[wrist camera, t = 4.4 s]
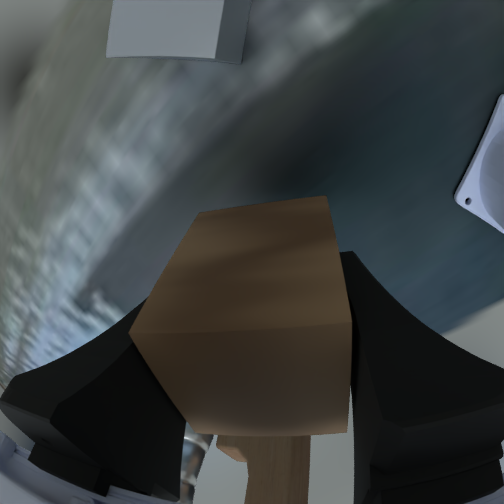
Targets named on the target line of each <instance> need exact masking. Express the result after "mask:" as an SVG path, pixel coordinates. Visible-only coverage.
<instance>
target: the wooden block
mask: <svg viewBox="0 0 504 504" xmlns="http://www.w3.org/2000/svg"><path fill="white" fill-rule="evenodd" d="M310 440H311V435H305V436H232V435H218V438H217V443H216V446H217V448H218V449H220V450H221V451H222V452H224V453H225V454H227V455H228V456H230V457H231V458H233V459H234V460H236V461H240V462H247V467H248V475H249V477H248V484H247V490H246V497H245V503H244V504H308V487H309V468H310Z"/></svg>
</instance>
